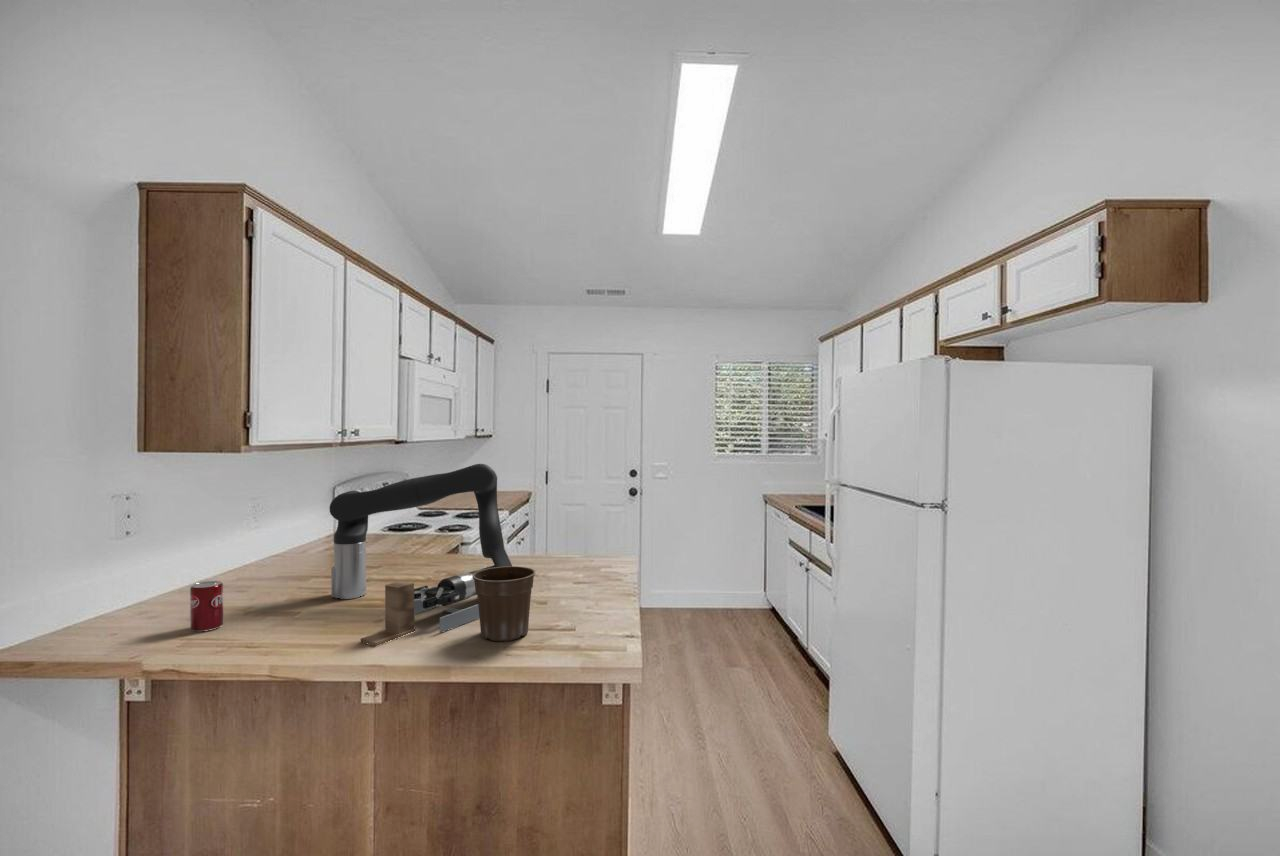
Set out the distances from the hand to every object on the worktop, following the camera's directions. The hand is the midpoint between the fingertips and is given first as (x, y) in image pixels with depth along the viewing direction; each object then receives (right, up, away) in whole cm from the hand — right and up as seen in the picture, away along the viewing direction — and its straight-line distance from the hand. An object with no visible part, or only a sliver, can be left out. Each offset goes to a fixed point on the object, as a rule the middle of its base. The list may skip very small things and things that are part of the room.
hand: (412, 602), depth 166 cm
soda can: (-55, -7, 0) cm, 56 cm away
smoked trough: (+5, -7, +8) cm, 12 cm away
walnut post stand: (-4, -7, -7) cm, 10 cm away
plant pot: (+26, -7, -4) cm, 27 cm away
